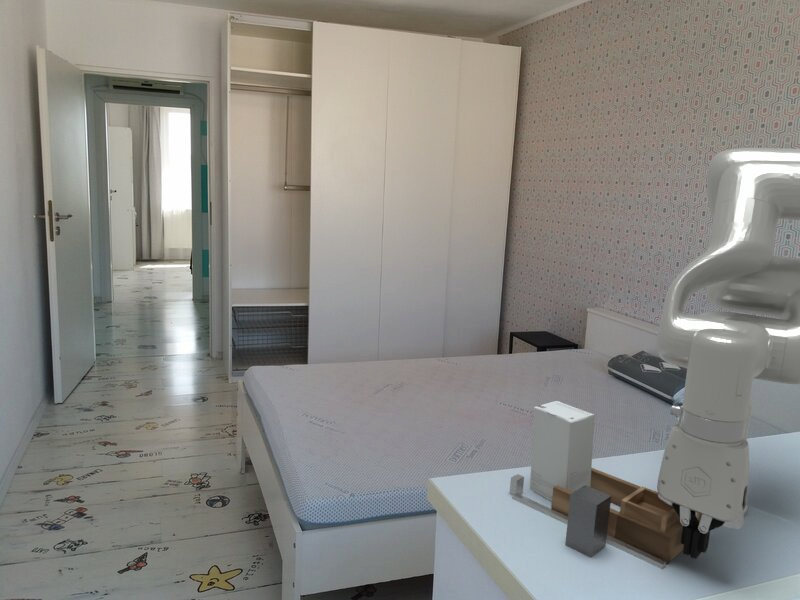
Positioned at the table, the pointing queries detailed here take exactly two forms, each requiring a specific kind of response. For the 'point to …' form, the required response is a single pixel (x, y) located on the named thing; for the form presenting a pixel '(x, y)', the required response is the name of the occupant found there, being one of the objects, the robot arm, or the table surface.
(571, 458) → the skincare box
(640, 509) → the cradle
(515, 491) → the rail
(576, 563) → the table surface
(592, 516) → the gray rectangular block
